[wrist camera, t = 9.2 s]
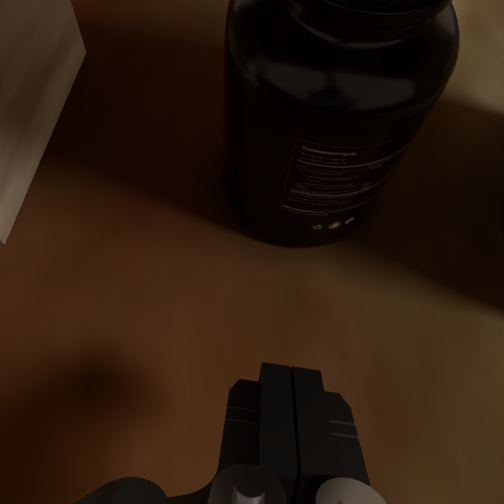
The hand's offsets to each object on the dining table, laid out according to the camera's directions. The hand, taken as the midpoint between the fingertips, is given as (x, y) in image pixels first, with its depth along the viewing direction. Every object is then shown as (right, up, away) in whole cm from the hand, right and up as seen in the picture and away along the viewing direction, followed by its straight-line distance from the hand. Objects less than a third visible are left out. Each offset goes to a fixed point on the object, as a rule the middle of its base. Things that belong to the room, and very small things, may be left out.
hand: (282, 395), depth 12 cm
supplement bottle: (+1, +7, +9) cm, 11 cm away
